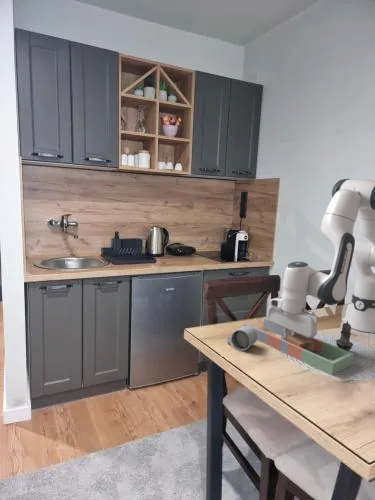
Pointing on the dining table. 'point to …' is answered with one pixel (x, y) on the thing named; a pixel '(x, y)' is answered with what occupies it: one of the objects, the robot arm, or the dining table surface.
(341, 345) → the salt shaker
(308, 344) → the walnut block
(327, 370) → the frame
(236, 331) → the ceramic mug
